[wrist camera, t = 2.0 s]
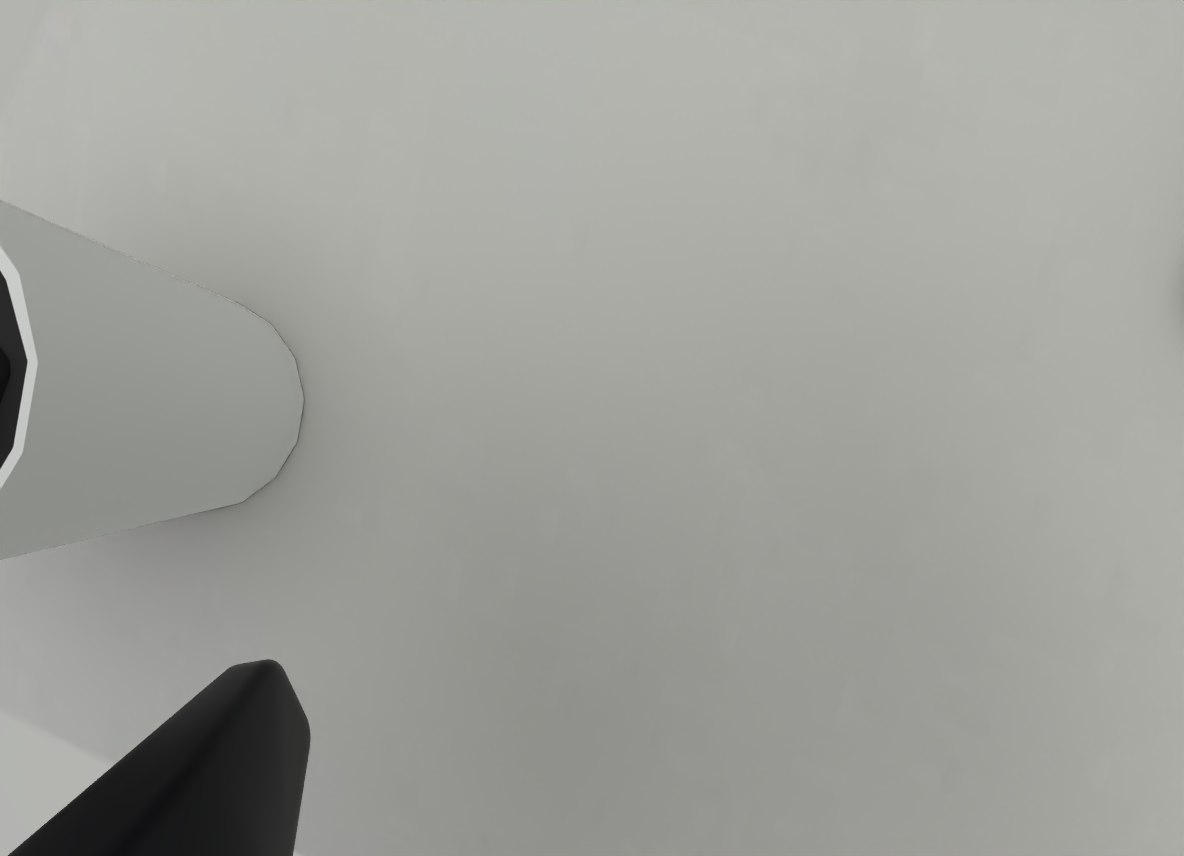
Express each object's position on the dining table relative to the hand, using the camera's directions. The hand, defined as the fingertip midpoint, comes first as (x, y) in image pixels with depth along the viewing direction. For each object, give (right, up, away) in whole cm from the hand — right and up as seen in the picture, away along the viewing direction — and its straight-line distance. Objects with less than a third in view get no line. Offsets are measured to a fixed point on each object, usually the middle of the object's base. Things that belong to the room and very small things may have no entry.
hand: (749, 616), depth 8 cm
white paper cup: (-12, +2, +14) cm, 19 cm away
